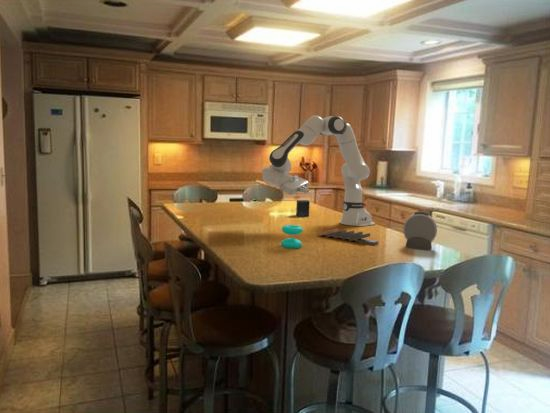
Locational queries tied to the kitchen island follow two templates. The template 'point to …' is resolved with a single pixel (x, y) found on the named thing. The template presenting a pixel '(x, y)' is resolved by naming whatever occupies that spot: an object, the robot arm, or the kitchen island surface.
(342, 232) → the domino
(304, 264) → the kitchen island surface
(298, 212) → the box
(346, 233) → the domino
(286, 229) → the donuts
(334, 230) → the domino
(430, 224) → the alarm clock
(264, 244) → the kitchen island surface
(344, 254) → the kitchen island surface
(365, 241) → the domino
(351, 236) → the domino
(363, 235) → the domino
